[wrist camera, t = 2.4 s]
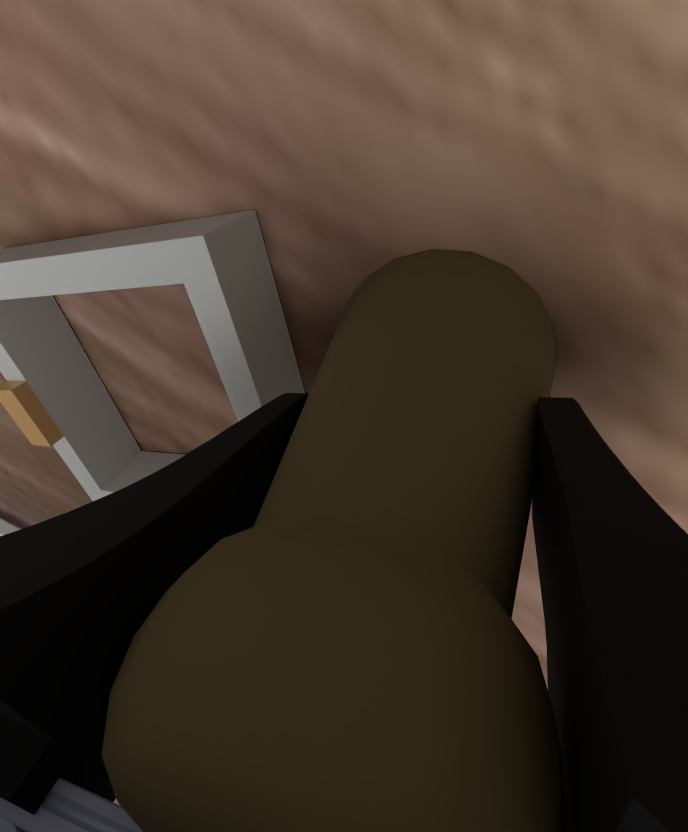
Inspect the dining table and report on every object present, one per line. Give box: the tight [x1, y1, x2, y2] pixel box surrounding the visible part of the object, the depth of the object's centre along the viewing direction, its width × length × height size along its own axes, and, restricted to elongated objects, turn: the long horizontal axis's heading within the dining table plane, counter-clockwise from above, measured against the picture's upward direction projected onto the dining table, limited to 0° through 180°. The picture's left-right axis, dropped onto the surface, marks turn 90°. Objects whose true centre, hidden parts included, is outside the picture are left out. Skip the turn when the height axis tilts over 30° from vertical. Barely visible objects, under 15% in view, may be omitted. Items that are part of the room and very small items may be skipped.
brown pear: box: [102, 250, 567, 832], centre depth 8 cm, size 6×6×11 cm
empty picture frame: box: [0, 210, 305, 501], centre depth 16 cm, size 10×18×6 cm, turn 11°
